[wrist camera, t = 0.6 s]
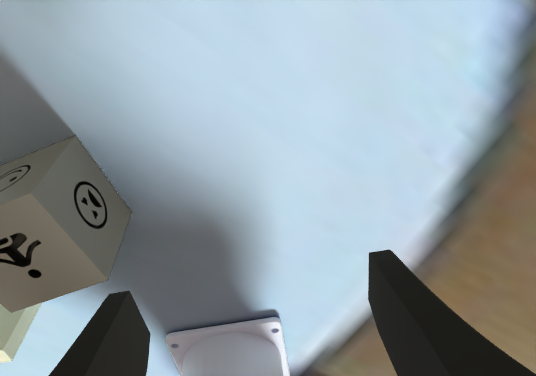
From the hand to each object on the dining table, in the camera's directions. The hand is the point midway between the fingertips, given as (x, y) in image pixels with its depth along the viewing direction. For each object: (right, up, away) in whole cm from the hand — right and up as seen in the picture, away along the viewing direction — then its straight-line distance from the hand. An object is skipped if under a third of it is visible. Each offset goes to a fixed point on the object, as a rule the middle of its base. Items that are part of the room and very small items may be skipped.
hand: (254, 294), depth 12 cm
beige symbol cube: (-10, +3, +9) cm, 14 cm away
